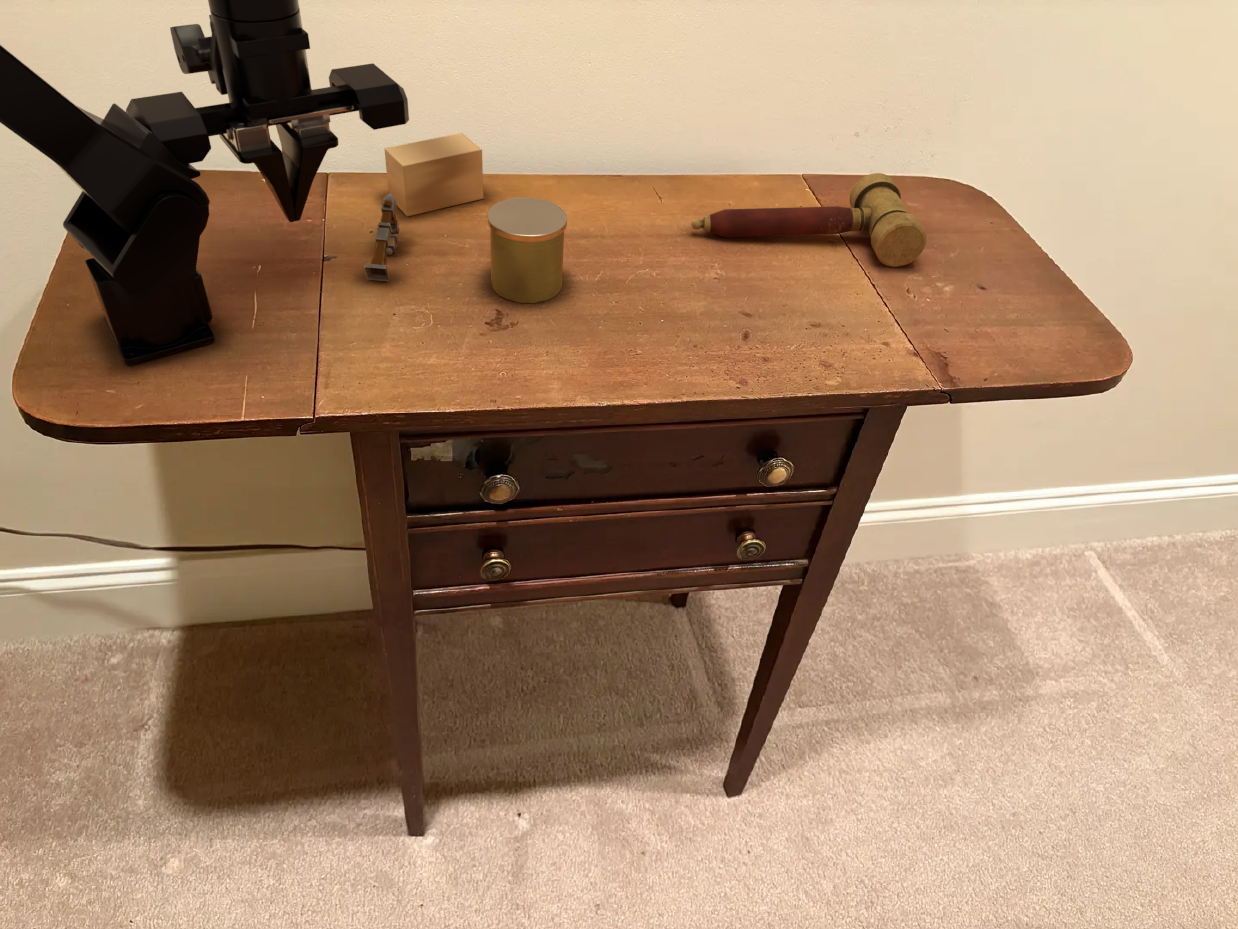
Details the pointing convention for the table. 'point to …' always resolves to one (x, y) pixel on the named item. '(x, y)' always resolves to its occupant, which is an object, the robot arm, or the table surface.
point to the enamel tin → (527, 249)
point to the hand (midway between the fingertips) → (292, 219)
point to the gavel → (835, 221)
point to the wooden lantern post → (384, 241)
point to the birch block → (434, 173)
